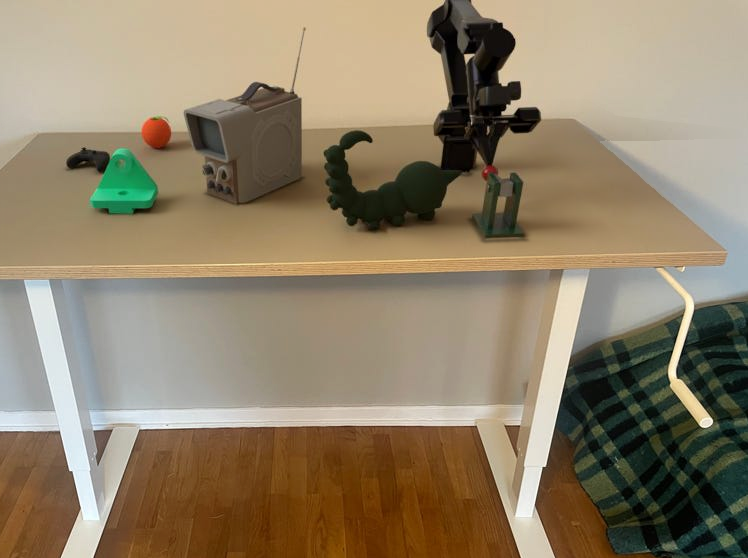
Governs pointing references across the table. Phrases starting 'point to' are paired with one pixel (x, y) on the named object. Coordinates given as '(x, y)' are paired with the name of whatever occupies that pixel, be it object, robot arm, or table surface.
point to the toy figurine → (385, 188)
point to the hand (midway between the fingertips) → (489, 165)
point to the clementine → (156, 132)
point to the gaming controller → (89, 158)
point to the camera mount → (124, 185)
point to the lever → (505, 183)
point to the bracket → (500, 222)
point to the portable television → (249, 141)
